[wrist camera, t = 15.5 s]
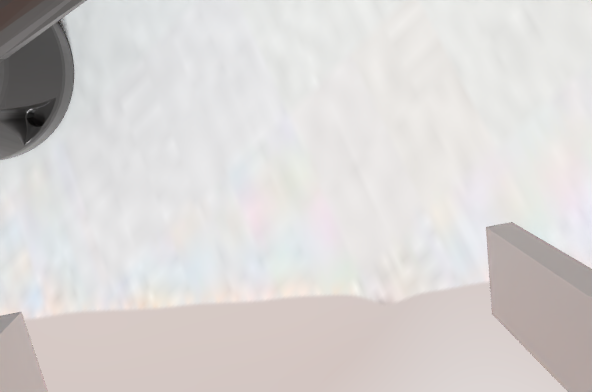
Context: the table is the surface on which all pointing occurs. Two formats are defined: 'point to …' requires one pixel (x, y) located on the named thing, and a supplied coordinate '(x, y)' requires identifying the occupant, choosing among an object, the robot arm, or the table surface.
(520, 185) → the table surface
